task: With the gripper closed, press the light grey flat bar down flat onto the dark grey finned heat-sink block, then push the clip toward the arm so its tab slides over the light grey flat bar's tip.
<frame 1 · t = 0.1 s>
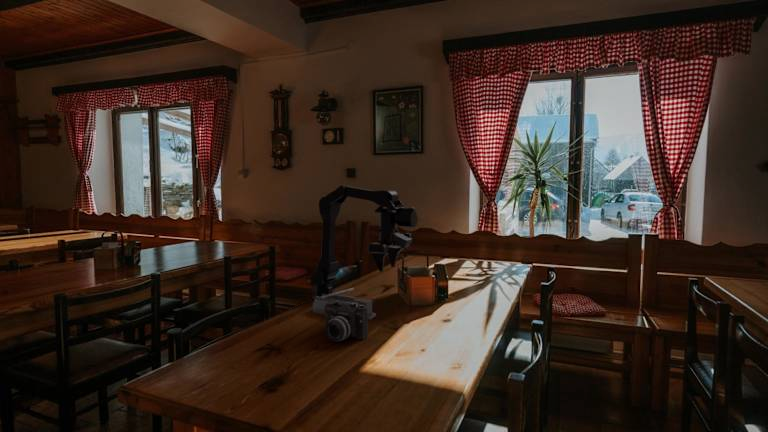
hand: (387, 269, 161), 15 cm above the table, fingers open, 9 cm apart
clip: (362, 306, 153), point 3 cm above the table, slide at 0.0 cm
light grey flat bar: (336, 293, 158), point 6 cm above the table, hinge at -20.0°
clip rail: (362, 316, 154), on the table
camera: (340, 338, 133), on the table
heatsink: (335, 311, 159), on the table
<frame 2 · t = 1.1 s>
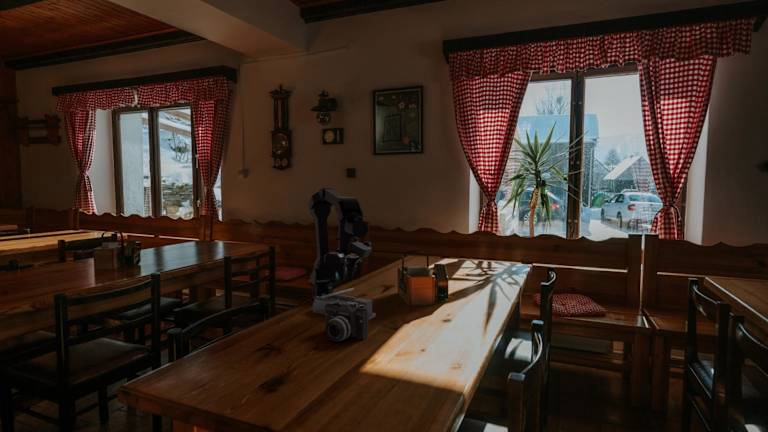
hand: (346, 279, 156), 12 cm above the table, fingers open, 5 cm apart
nothing on the table moved.
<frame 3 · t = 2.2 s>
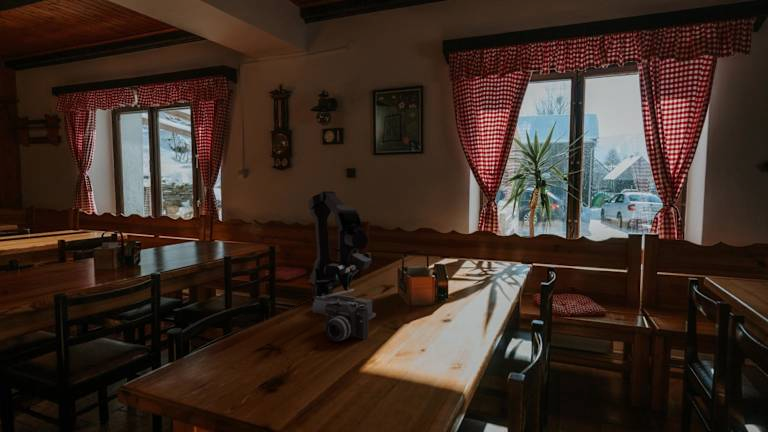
hand: (346, 290, 156), 8 cm above the table, fingers closed, pressing on light grey flat bar
light grey flat bar: (336, 293, 158), point 6 cm above the table, hinge at -18.6°, touching gripper
everything else where it was.
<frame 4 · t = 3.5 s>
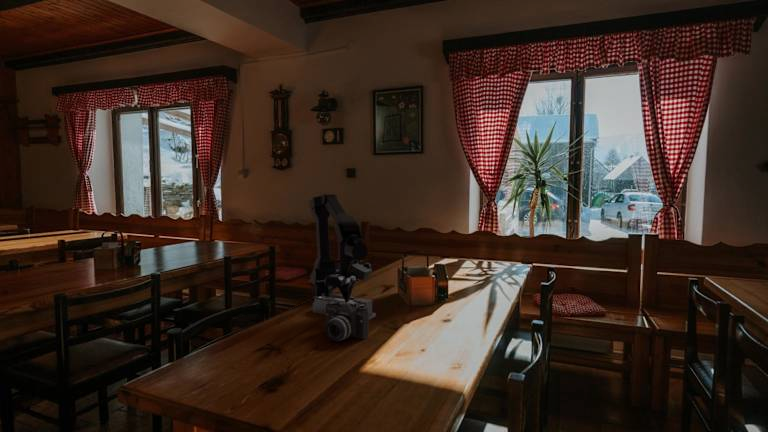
hand: (347, 301, 156), 4 cm above the table, fingers closed, pressing on light grey flat bar
light grey flat bar: (337, 300, 158), point 4 cm above the table, hinge at -1.0°, touching gripper
everything else where it was.
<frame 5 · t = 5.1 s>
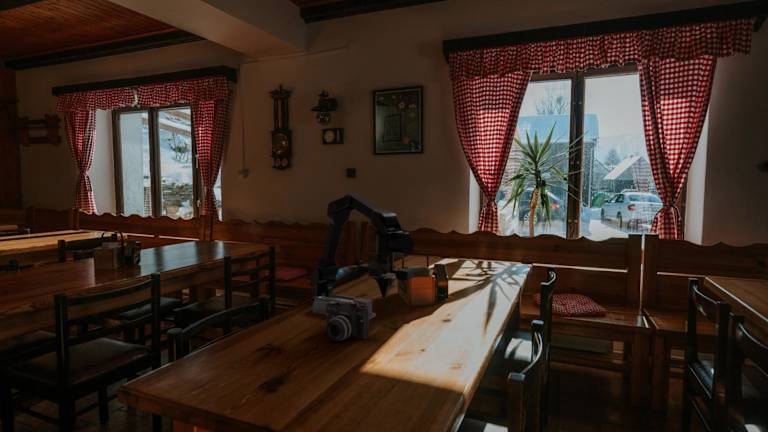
hand: (384, 297, 149), 8 cm above the table, fingers closed
light grey flat bar: (337, 300, 158), point 4 cm above the table, hinge at -1.0°
everything else where it was.
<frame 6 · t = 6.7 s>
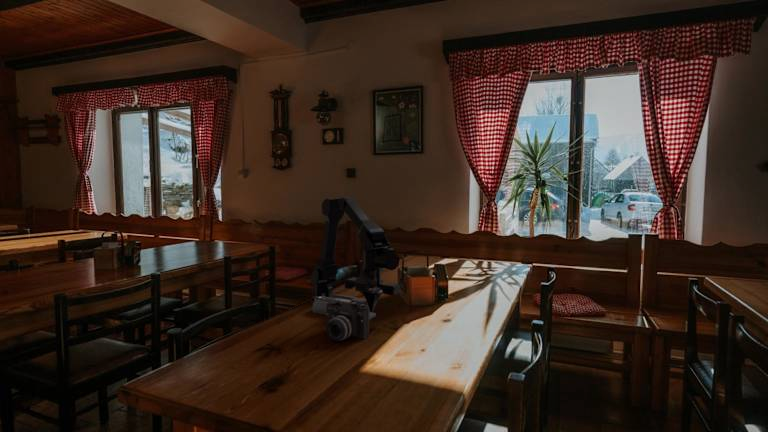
hand: (371, 311, 152), 2 cm above the table, fingers closed
clip: (359, 306, 154), point 3 cm above the table, slide at 1.0 cm, touching gripper
everything else where it was.
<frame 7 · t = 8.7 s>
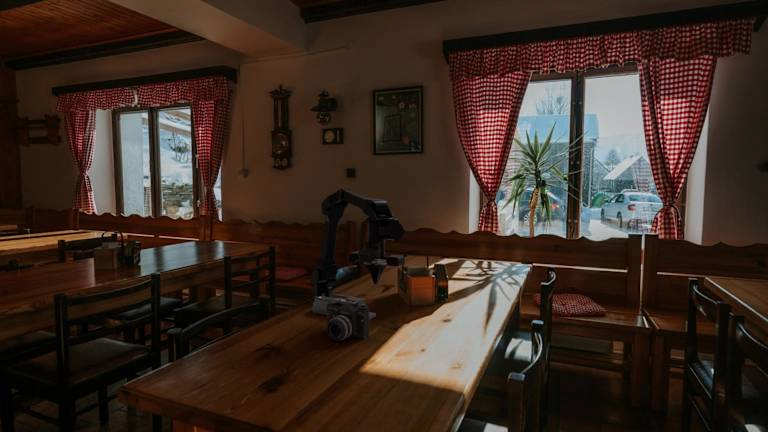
hand: (375, 284, 150), 12 cm above the table, fingers closed
clip: (354, 305, 155), point 3 cm above the table, slide at 3.0 cm
everything else where it was.
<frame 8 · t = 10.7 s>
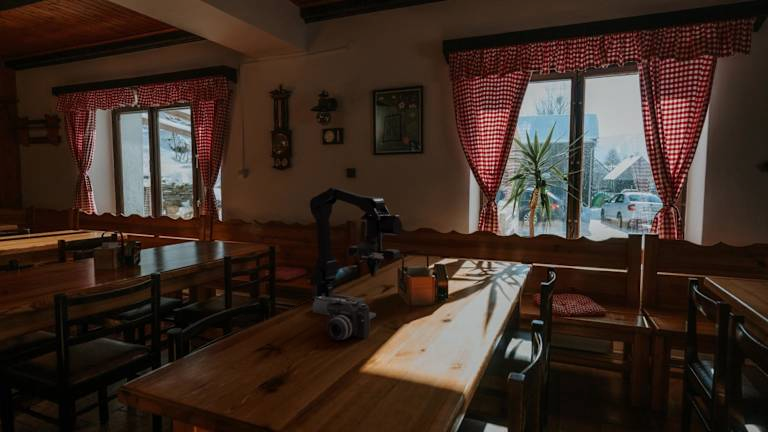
hand: (373, 276, 161), 12 cm above the table, fingers closed
at the end: light grey flat bar at -1° (first picture: -20°); clip slide at 3.0 cm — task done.
